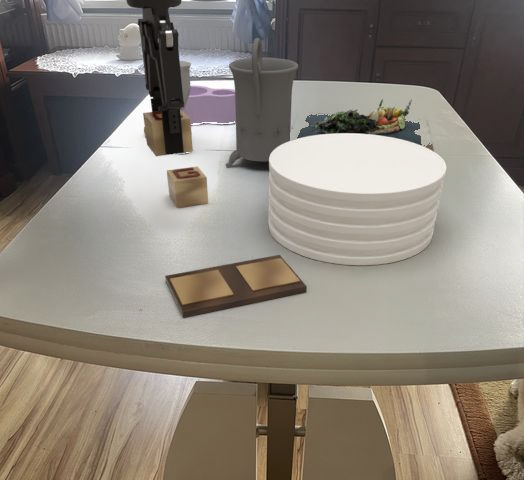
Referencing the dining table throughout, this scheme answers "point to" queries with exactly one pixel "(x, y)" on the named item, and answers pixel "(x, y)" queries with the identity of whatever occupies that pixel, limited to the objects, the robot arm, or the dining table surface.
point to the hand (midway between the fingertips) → (169, 146)
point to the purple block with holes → (210, 105)
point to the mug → (261, 104)
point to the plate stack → (354, 197)
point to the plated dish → (366, 124)
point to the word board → (233, 285)
